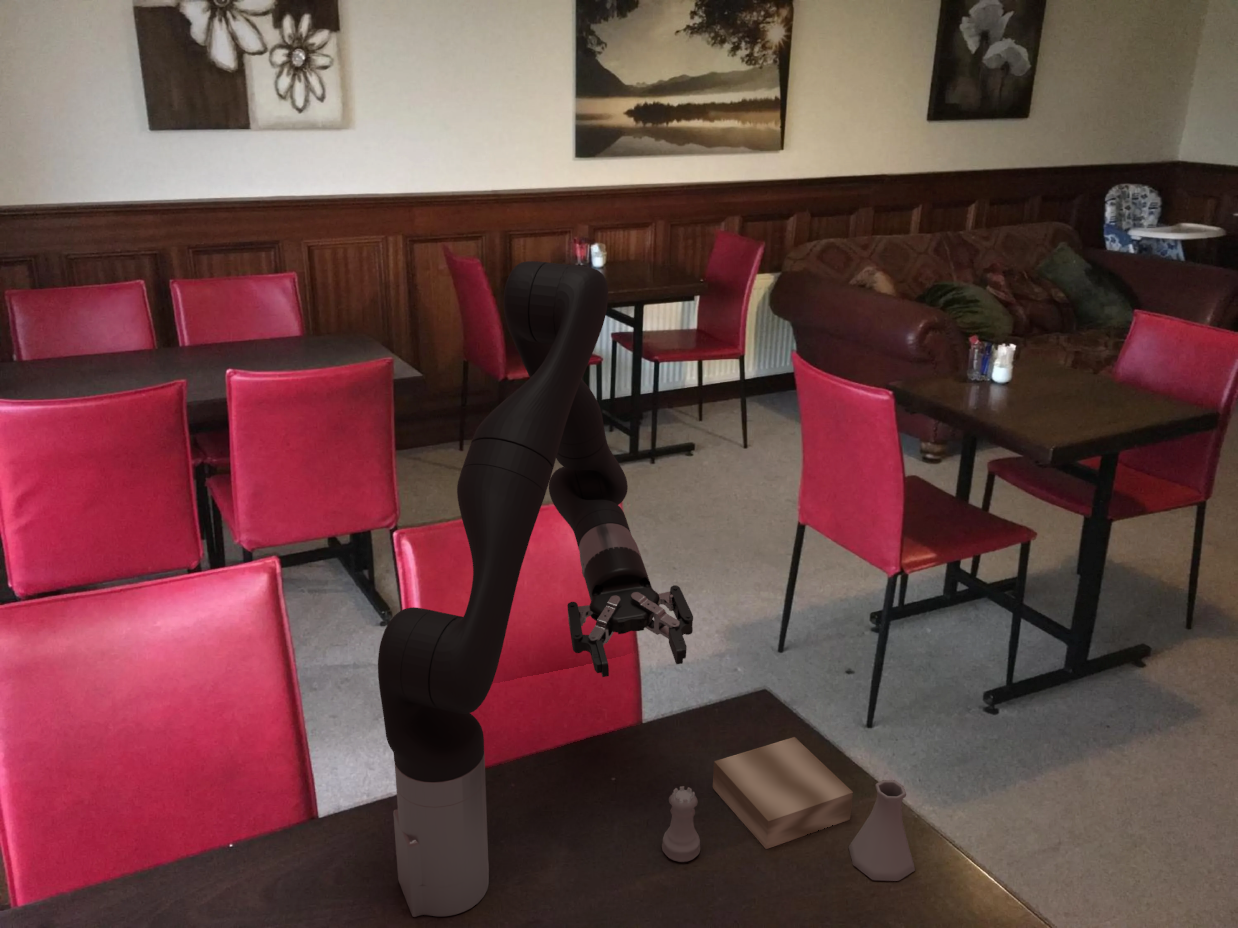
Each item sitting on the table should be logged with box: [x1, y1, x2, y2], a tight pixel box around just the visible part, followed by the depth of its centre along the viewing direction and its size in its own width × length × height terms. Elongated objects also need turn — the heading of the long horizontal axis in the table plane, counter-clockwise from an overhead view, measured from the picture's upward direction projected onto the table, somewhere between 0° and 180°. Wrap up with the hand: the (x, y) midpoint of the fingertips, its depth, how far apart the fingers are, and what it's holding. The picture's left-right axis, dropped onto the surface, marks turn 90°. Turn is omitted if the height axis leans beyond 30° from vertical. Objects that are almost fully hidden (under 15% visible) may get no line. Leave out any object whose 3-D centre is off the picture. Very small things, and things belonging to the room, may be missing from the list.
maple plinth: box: [712, 736, 854, 850], centre depth 126 cm, size 12×12×4 cm
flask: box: [848, 779, 916, 882], centre depth 116 cm, size 7×7×10 cm
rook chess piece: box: [661, 785, 701, 863], centre depth 117 cm, size 4×4×8 cm
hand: (643, 665), depth 115 cm, fingers open, 8 cm apart
